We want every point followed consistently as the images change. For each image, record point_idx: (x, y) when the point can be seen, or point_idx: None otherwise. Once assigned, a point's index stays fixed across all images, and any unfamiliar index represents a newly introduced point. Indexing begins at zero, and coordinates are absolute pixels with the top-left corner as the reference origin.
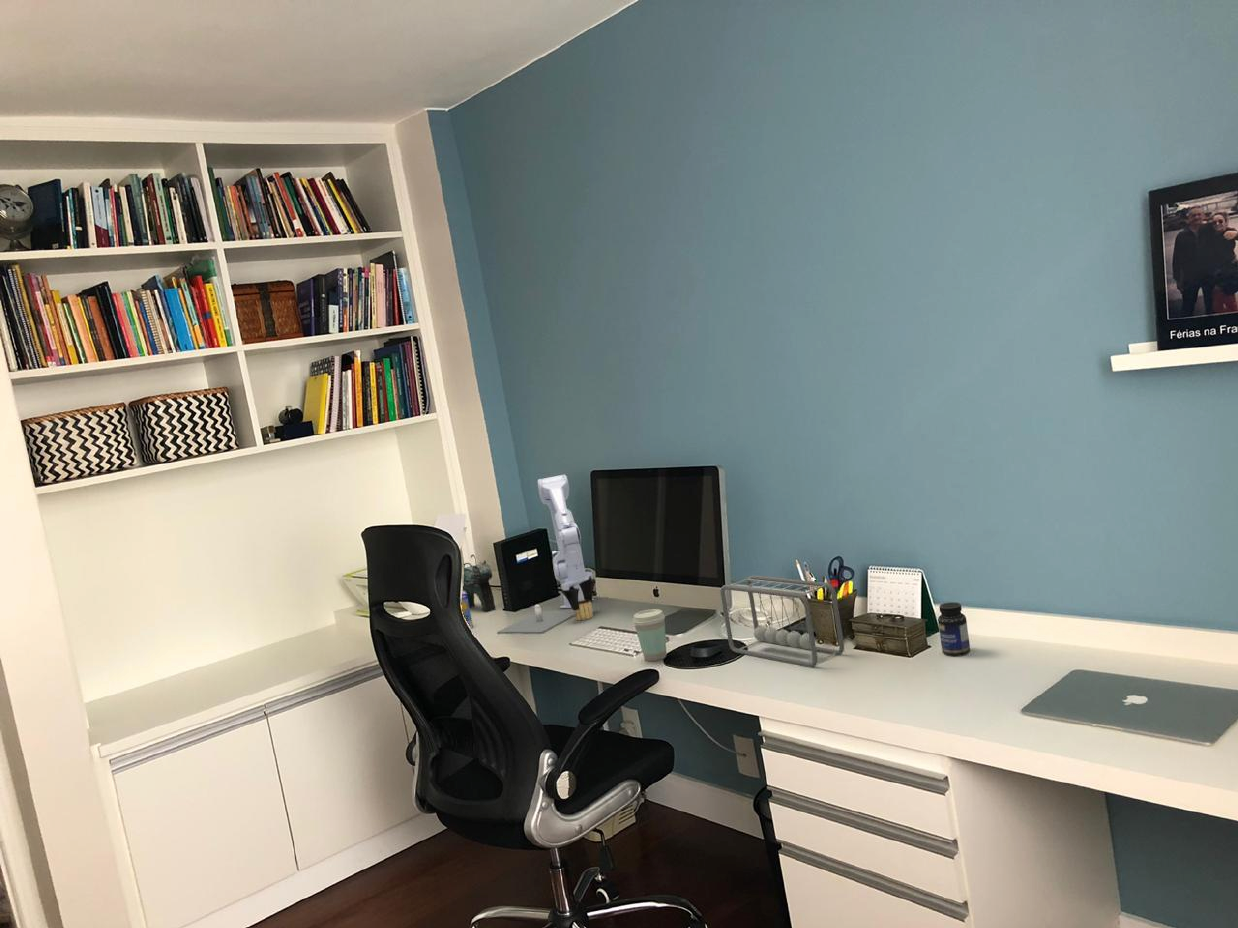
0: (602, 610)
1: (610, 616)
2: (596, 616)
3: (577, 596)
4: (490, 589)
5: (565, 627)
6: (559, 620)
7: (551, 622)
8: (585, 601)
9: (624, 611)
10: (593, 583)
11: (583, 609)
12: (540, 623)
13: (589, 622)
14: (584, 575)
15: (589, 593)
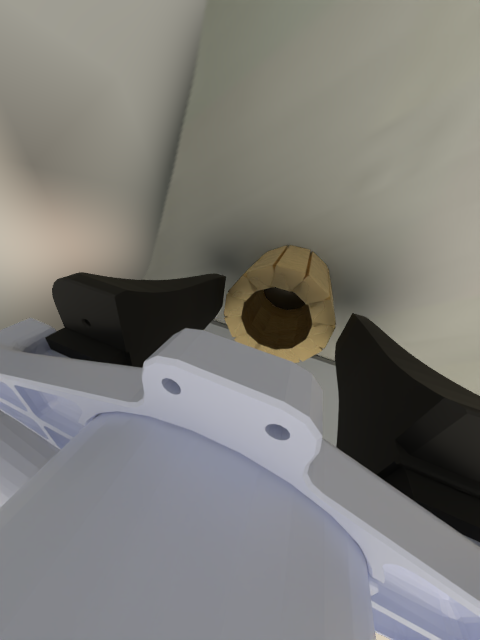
0: (197, 232)
1: (329, 98)
2: (291, 223)
3: (404, 361)
4: None
5: (441, 336)
6: (317, 375)
7: (333, 397)
8: (245, 304)
9: (234, 24)
10: (118, 282)
11: (330, 288)
12: (327, 424)
13: (415, 219)
14: (165, 505)
15: (196, 297)
